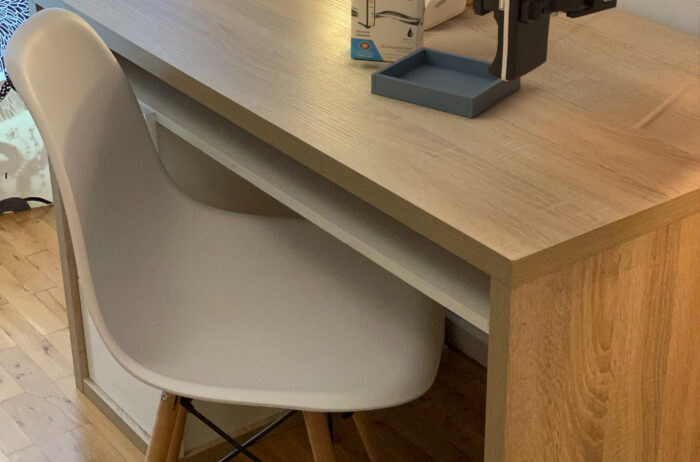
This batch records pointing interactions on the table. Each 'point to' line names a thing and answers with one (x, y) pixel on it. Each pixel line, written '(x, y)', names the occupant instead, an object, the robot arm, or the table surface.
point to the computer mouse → (441, 11)
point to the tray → (442, 82)
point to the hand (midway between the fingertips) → (501, 8)
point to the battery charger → (516, 41)
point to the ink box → (386, 28)
